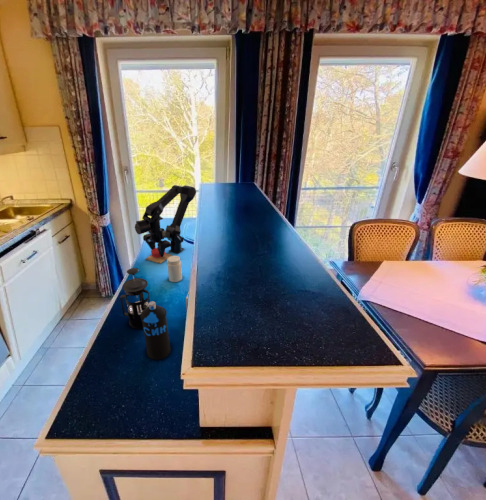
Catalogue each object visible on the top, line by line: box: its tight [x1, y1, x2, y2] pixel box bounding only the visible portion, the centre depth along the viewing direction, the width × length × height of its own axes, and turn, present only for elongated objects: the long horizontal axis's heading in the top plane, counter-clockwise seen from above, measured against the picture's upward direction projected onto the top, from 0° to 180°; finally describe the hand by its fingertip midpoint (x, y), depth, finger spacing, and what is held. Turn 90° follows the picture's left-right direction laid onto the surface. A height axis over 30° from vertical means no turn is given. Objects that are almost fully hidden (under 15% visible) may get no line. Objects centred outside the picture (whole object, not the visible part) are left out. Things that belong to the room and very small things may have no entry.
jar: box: [166, 255, 183, 283], centre depth 134 cm, size 7×7×11 cm
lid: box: [150, 247, 166, 257], centre depth 155 cm, size 8×8×2 cm
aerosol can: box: [139, 300, 172, 361], centre depth 91 cm, size 8×8×20 cm
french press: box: [119, 267, 151, 330], centre depth 104 cm, size 12×9×23 cm
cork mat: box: [145, 252, 172, 264], centre depth 157 cm, size 10×10×1 cm
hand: (158, 254), depth 156 cm, fingers closed on lid, 7 cm apart
